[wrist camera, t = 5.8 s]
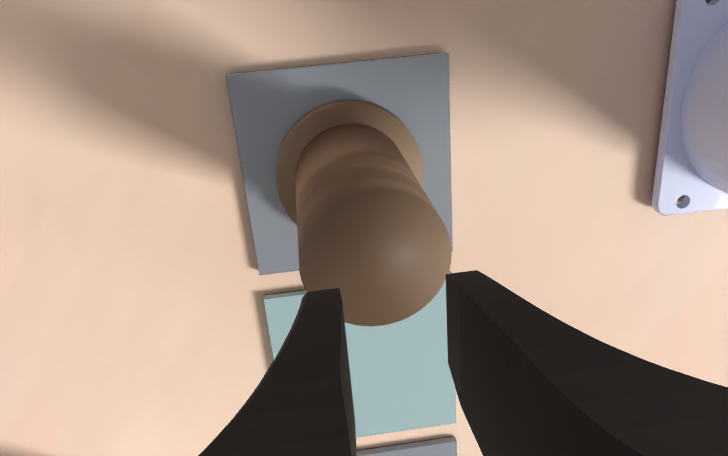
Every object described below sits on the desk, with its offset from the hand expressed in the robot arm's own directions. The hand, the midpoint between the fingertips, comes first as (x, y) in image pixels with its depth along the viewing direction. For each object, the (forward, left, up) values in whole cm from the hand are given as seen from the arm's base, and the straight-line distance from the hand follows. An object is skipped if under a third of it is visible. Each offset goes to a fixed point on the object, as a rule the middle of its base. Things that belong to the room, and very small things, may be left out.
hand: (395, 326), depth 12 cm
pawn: (0, 0, -10) cm, 10 cm away
